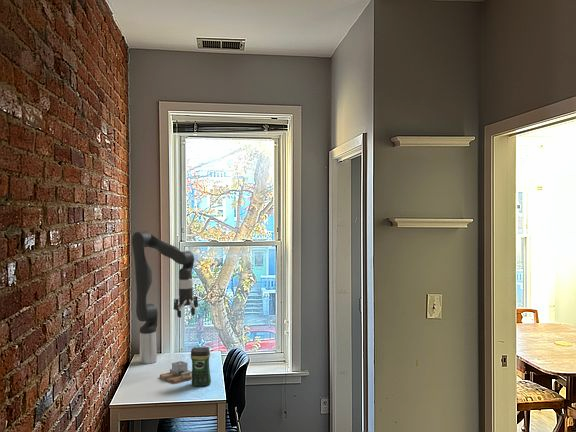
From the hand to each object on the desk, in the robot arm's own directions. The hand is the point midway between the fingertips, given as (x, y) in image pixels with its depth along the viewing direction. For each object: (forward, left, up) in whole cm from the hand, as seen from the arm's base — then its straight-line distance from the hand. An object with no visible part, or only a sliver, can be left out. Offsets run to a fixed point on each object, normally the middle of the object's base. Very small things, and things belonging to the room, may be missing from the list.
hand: (186, 316), depth 315 cm
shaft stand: (+15, -14, -28) cm, 35 cm away
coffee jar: (+33, -13, -28) cm, 45 cm away
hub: (+15, -14, -27) cm, 34 cm away
